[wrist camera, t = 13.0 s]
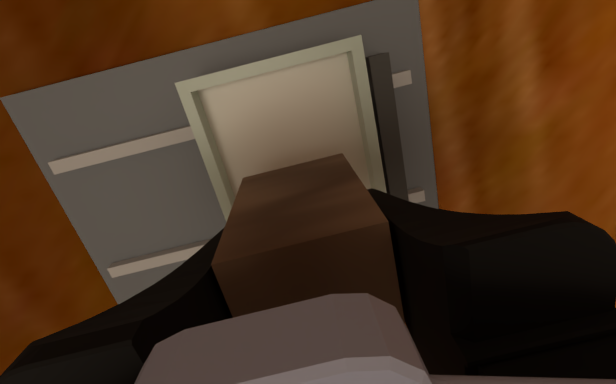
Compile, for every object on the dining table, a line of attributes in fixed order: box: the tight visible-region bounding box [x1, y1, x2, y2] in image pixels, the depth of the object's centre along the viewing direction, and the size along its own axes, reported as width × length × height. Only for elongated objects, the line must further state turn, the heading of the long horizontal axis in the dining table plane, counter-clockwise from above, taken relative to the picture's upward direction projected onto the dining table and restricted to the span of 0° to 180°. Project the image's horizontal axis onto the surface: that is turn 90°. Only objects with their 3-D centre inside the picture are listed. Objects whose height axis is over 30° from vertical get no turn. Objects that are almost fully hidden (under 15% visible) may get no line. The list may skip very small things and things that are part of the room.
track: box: [0, 0, 439, 304], centre depth 19 cm, size 22×15×2 cm
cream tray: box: [175, 35, 387, 222], centre depth 17 cm, size 8×12×3 cm, turn 13°
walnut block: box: [211, 153, 405, 323], centre depth 11 cm, size 4×4×6 cm
